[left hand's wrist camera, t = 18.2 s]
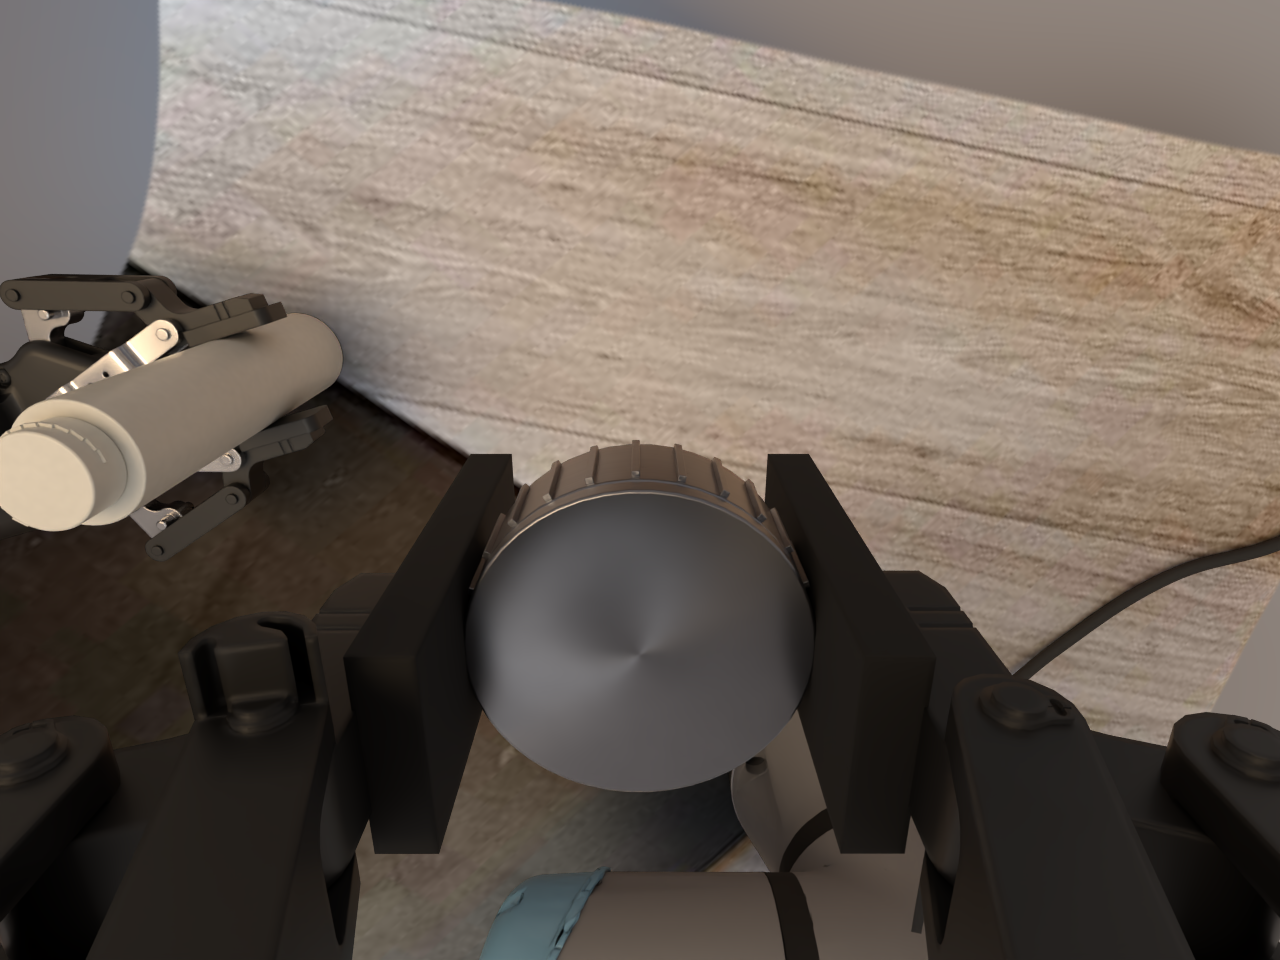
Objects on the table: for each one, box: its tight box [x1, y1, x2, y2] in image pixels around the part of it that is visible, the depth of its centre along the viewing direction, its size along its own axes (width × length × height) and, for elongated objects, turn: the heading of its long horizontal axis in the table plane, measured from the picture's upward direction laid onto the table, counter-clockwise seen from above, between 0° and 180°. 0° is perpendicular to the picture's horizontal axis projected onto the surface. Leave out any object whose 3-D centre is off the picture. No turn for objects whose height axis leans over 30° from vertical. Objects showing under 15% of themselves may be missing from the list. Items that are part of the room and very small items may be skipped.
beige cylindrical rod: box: [0, 313, 343, 531], centre depth 31 cm, size 4×4×19 cm
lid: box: [464, 440, 816, 792], centre depth 11 cm, size 5×5×2 cm
